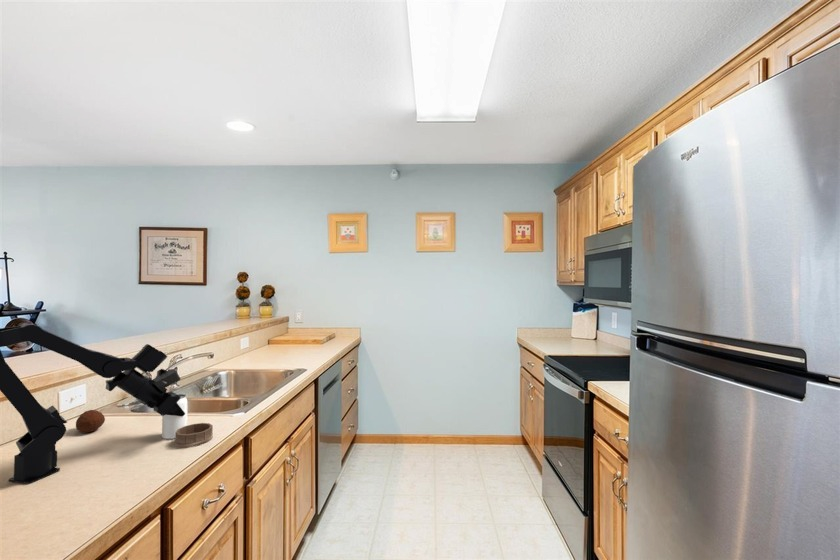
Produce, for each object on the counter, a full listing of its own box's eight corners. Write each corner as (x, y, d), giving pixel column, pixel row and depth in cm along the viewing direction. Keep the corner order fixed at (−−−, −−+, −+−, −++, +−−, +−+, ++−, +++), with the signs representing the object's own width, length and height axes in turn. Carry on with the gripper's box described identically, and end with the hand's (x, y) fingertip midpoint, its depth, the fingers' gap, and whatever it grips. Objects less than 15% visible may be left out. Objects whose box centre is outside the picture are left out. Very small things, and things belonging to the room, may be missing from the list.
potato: (105, 423, 121) (105, 404, 121) (104, 432, 114) (105, 412, 114) (76, 429, 116) (77, 409, 117) (74, 438, 109) (74, 417, 110)
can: (190, 434, 112) (191, 396, 113) (167, 441, 107) (167, 401, 107) (181, 429, 116) (182, 392, 116) (158, 436, 111) (158, 397, 111)
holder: (195, 448, 102) (195, 436, 102) (166, 446, 104) (167, 434, 104) (219, 435, 112) (220, 424, 112) (193, 432, 114) (193, 421, 114)
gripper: (173, 366, 103) (212, 395, 112) (150, 358, 114) (188, 385, 123) (139, 401, 97) (184, 429, 105) (118, 389, 108) (161, 415, 117)
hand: (180, 412), depth 113 cm, fingers closed on can, 6 cm apart
